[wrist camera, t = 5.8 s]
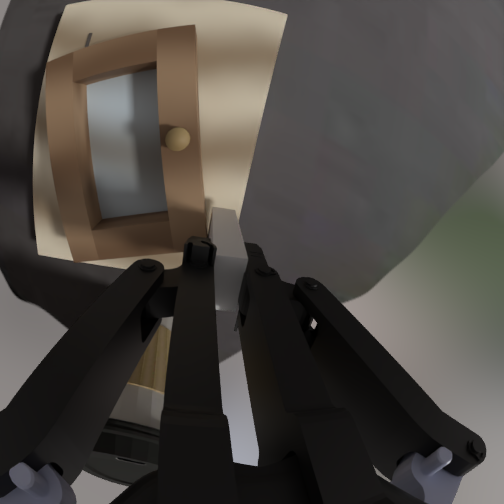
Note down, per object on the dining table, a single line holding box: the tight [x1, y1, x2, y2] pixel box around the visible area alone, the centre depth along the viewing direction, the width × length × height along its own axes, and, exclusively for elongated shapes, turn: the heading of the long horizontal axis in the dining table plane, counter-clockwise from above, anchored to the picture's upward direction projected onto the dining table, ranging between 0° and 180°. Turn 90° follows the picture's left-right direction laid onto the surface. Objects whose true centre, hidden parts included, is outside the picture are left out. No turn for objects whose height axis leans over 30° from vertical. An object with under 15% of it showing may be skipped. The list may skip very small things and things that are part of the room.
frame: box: [45, 24, 208, 263], centre depth 13 cm, size 13×9×4 cm
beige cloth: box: [33, 0, 287, 269], centre depth 15 cm, size 20×16×2 cm
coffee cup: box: [83, 317, 173, 486], centre depth 17 cm, size 10×10×15 cm
